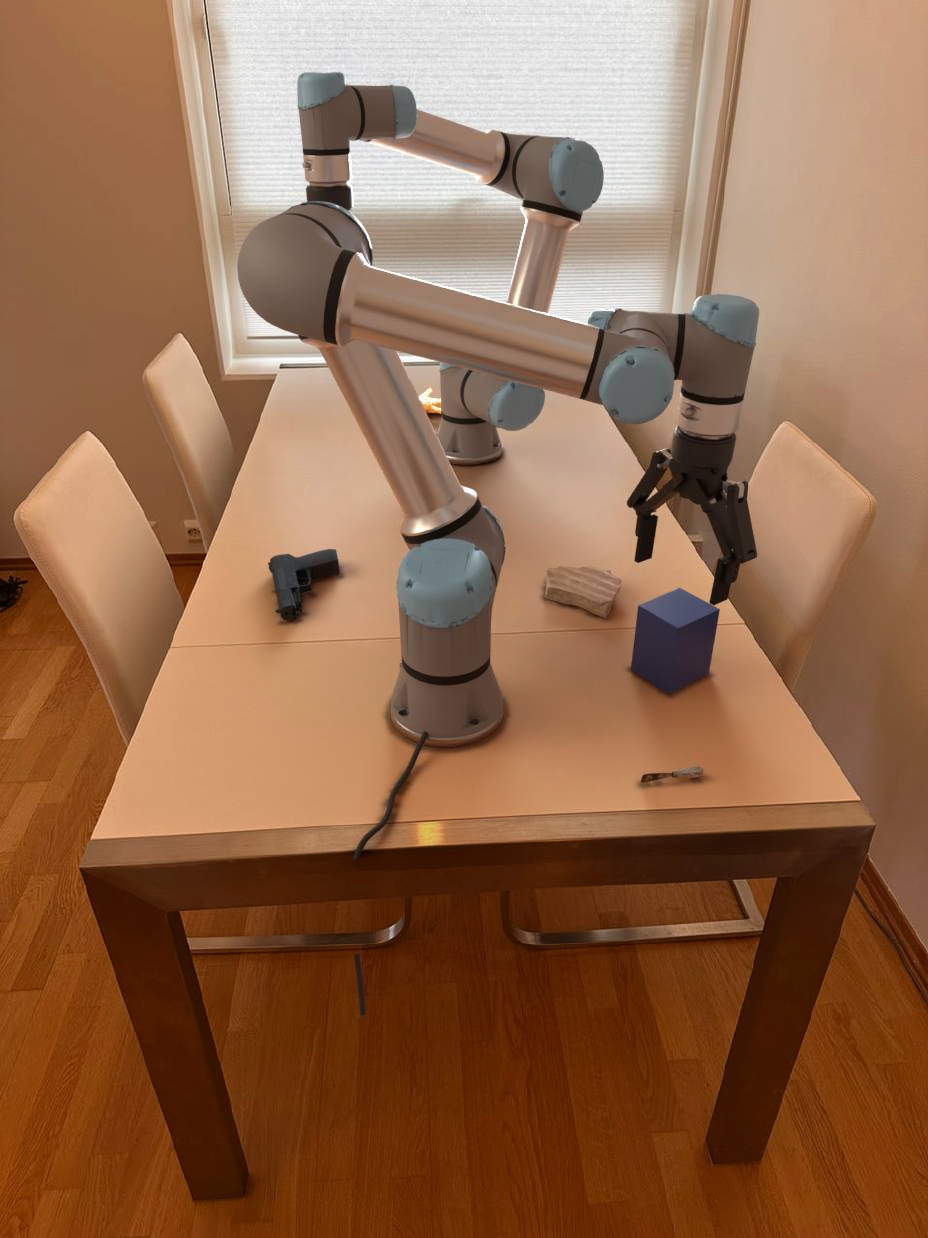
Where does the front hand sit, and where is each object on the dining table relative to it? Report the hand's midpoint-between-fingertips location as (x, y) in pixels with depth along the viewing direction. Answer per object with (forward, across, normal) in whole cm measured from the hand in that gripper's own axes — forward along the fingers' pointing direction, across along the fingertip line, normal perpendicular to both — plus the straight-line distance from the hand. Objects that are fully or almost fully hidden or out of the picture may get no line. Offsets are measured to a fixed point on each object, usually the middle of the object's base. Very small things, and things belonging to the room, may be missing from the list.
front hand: (679, 579), depth 121 cm
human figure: (+17, -111, +41) cm, 120 cm away
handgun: (+17, -51, -31) cm, 62 cm away
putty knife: (+15, +17, -16) cm, 28 cm away
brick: (+15, +1, +1) cm, 15 cm away
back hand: (-20, -75, -10) cm, 78 cm away
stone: (+16, -22, +5) cm, 28 cm away
